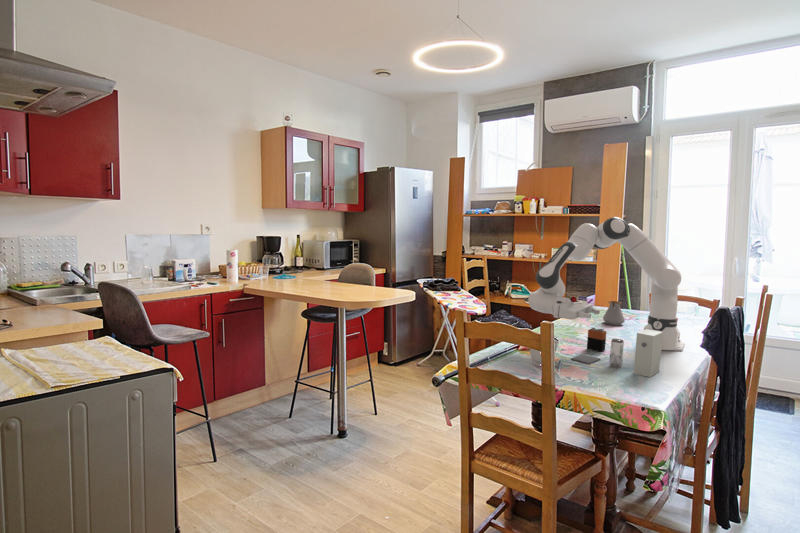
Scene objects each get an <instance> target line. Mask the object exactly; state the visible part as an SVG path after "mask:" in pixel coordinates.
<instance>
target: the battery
mask: <svg viewBox="0 0 800 533" xmlns="http://www.w3.org/2000/svg"><path fill="white" fill-rule="evenodd" d="M586 340H587V342H586V343H587V344H586V350H590V351H595V352H599V353H602V352H604V351H606V340H607V331H606V330H604V328H597V329H596V327H591V328H590V329H588V330H587V339H586Z"/></svg>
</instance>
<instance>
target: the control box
mask: <svg viewBox="0 0 800 533" xmlns="http://www.w3.org/2000/svg"><path fill="white" fill-rule="evenodd" d="M662 337H663V332H660V331H654V330H649V329H645V330H644V329H643V330H640V331H638V332H636V338H635V340H636V342H635V352H634V353H635V354H634V365H633V374H635V375H639V376H644V377H646V376H647V377H648V378H652V377H653V376H655V375H657V374H658V373H660V369H661V358H662V356H661V355H662V350H661V347H662Z"/></svg>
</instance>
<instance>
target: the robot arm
mask: <svg viewBox="0 0 800 533" xmlns="http://www.w3.org/2000/svg"><path fill="white" fill-rule="evenodd" d="M616 243H618V244H619V245H621V246H622V247H623V248H624V249H625V250H626V252H627V253H628V254H629V255H630V256H631V257H632V259H633V260H634V261H635V262H636V263H637V264H638V266H639V267H640V268H641V269H642V270H643V271H644V272H645V274H646V275H647V276H648V277H649V279H650V280H651V282H650V284H651V287H650V302H649V303H650V305H649V314H648V316H647V324H646V325H644V326H643V330H645V329H649V330H654V331H660V332H663V337H662V347H661V351H677V352H678V351H679V352H682V351H683V350H684V347H685V345H686V344H685V342H684V341H681V338H680V337H681V332H680V330H679V329H678V327H677V326H678V319H679V318H678V317H677V311H678V302H679V301H678V291H679V290H678V289H679V286H680V284H681V281H682V274H681V272H680V270H678V268H677V267H676V266H675V265H674V264H673V263H672V261H671V260H670V259H668V258H667V256H666V255H665V254H664V253H663V252H662V251H661V250H660V248H658V247H657V245H656V244H655V243H654V242H653V241H652V239H650V237H649V236H648V235H647V234H646V233H645V232H644V231H643V230H642V229H640V228H639V227H638V226H637V225H635V224H634V223H628V222H627V221H625V220H624V219H622V218H621V217H617V216H612V217H609V218H607V219H606V220H604V221H603V222H602V223H600V224H599V225H598V226H595V225H594V224H592V223H588V222H587V223H586V222H585V223H583V224H580V225H579V226H578V227H577V229H575V231H574V232H573V233H572V234H571V236H570V237H569V239H568V240H567V241H566V242H564V243H563V244H561V246H560V247H558V249H557V250H556V252H554V253H553V255H552V256H551V257H550V258H549V260H548V261H547V262H546V263H545V264H544V265H543V266H541V267H540V268H539V269H538V270H537V272H536V274H535V281H536V282H537V284H538V285H539V288H538V289H536V290H535V291H531V292H530V293H529V294H528V305H529V307H530V308H531V309H532V310H534V311H536V312H538V313H539V312H540V313H542V314H551V315H552V316H553V318H555V319H559V318H561V319H565V320H576V319H578V318H580V319H583V318H585V319H590V318H591V317H592V314H594V315H599V314H600V312H601V311H600V309H596V308H594V306H593V304H592V303H588V302H583V301H574V302H573V301H572V300H571V299H570V298H569V297H566V296H565V294H566V290H567V289H566V286H565V283H564V281H563V280H562V278H561V274H560V272H561V269H562V267H563V266H564V265H565V264H566V263H567V261H568V260H571V261H576V262H580V261H582V260H585V259H586V258H587V257H588V256H589V254H590V253H591V252H592V250H593V248H595V249H597V250H605V249H608V248H609V247H611V246H612V245H614V244H616ZM564 296H565V297H564ZM591 313H592V314H591Z"/></svg>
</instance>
